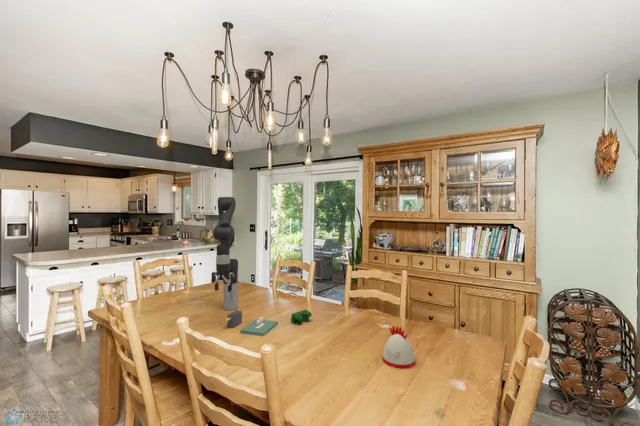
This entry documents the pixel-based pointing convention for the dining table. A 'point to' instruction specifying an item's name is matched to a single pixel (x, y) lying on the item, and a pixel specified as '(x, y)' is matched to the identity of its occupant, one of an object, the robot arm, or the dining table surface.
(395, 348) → the kitchen timer
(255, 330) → the header board
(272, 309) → the dining table surface
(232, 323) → the block
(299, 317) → the green toy animal
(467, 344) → the dining table surface
